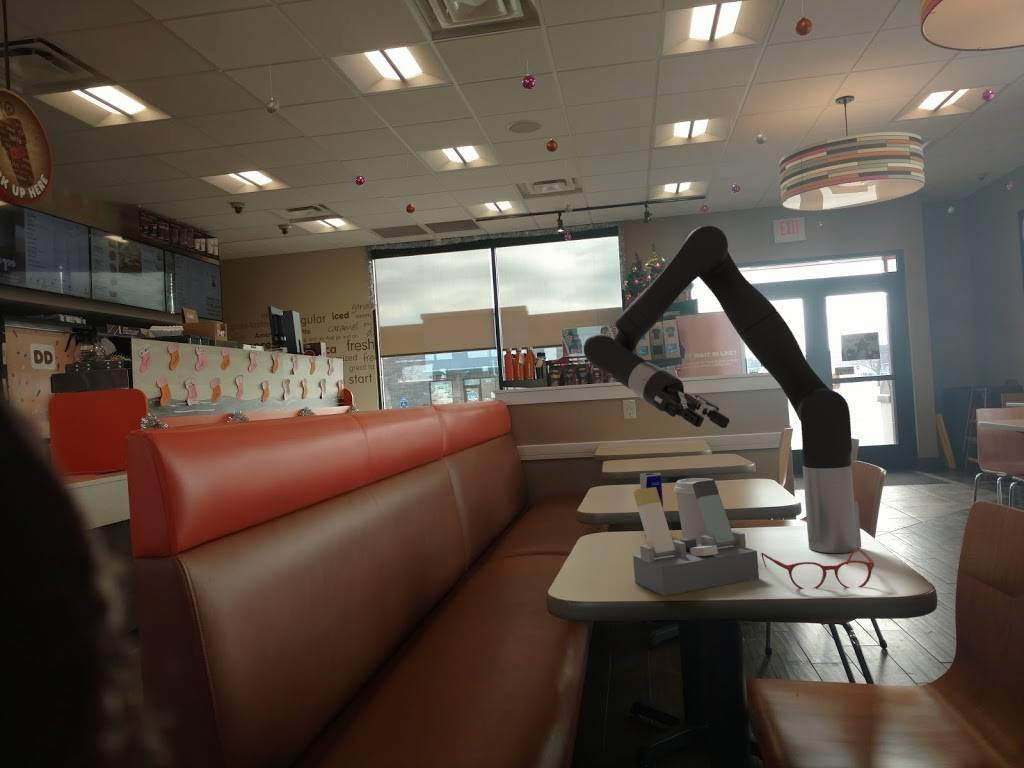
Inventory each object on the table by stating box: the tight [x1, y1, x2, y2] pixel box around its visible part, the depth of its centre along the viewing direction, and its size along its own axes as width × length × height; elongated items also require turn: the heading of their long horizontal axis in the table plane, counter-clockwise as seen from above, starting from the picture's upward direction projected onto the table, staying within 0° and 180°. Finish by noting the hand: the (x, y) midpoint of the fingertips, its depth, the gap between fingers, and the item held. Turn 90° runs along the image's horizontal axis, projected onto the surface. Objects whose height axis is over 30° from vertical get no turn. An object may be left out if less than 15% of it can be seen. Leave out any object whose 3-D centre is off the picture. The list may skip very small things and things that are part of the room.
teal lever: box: [692, 479, 736, 548], centre depth 128 cm, size 5×2×13 cm, turn 109°
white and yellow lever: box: [632, 487, 677, 558], centre depth 124 cm, size 5×2×13 cm, turn 109°
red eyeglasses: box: [760, 548, 875, 590], centre depth 121 cm, size 17×16×5 cm
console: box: [632, 530, 760, 597], centre depth 124 cm, size 21×10×8 cm, turn 109°
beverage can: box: [639, 472, 665, 533], centre depth 164 cm, size 5×5×15 cm
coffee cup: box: [673, 477, 719, 545], centre depth 146 cm, size 10×10×15 cm
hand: (714, 423), depth 129 cm, fingers open, 8 cm apart
